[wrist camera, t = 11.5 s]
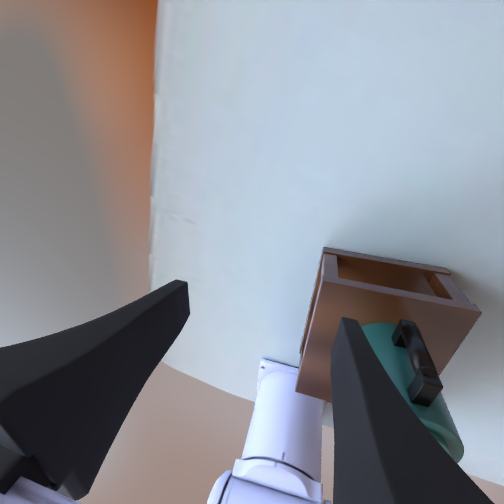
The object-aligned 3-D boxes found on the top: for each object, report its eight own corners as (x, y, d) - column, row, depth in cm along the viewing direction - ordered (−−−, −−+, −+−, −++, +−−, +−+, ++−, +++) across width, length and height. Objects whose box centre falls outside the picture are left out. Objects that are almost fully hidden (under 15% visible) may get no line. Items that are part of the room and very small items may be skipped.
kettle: (395, 396, 19) (428, 527, 13) (333, 379, 20) (336, 494, 14) (445, 311, 15) (529, 445, 9) (363, 294, 16) (387, 405, 9)
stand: (392, 371, 24) (406, 424, 20) (300, 347, 26) (294, 392, 22) (446, 268, 18) (482, 312, 14) (323, 246, 20) (322, 280, 16)
